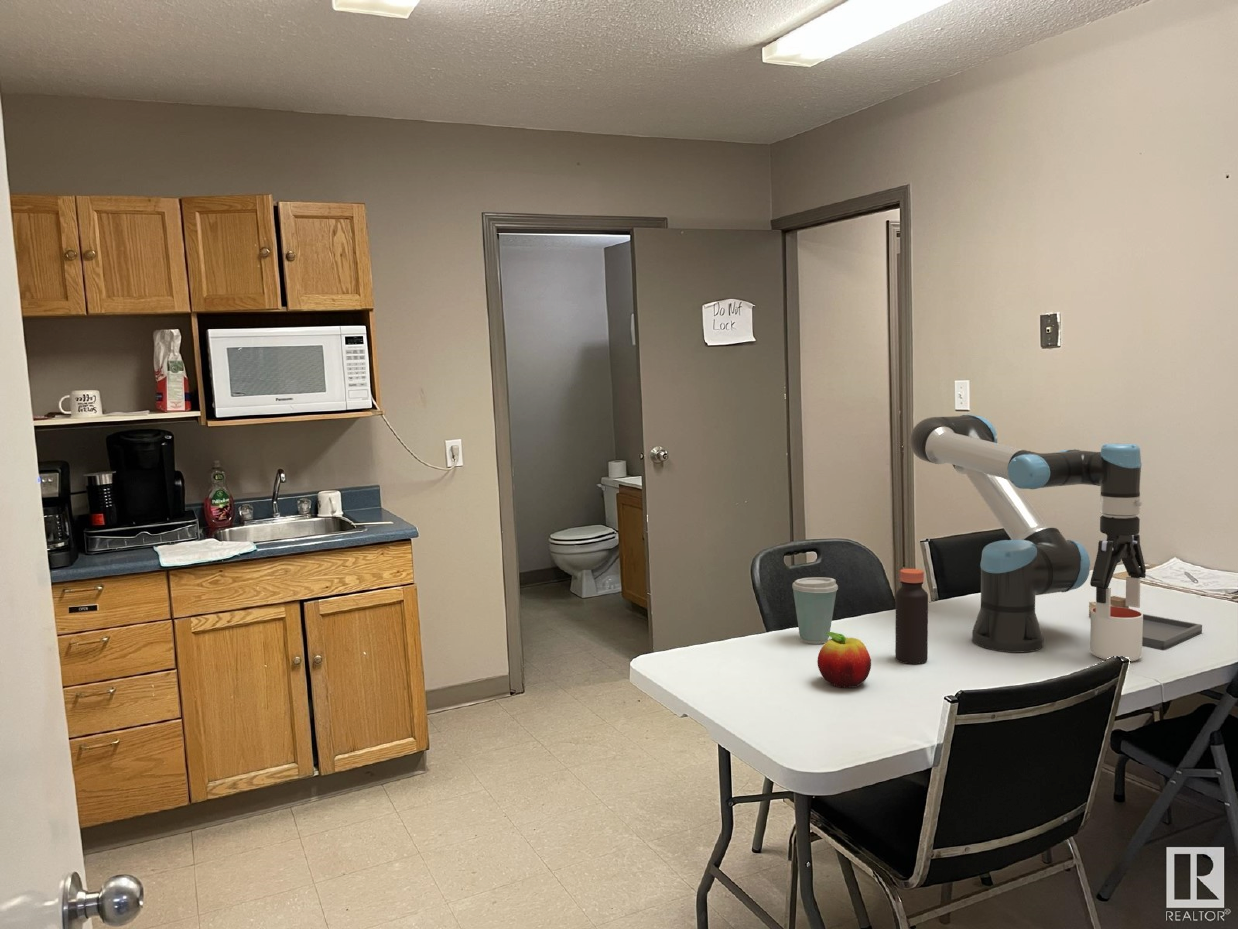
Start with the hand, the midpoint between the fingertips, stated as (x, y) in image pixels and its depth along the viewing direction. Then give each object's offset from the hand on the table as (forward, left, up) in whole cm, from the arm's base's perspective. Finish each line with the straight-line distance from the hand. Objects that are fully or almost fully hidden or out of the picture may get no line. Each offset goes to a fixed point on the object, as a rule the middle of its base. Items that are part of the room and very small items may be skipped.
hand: (1118, 612), depth 201 cm
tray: (+8, +21, -10) cm, 25 cm away
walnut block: (+3, +39, -10) cm, 41 cm away
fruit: (-52, -37, -10) cm, 65 cm away
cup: (0, 0, -10) cm, 10 cm away
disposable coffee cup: (-64, -9, -10) cm, 66 cm away
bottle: (-41, -17, -10) cm, 46 cm away
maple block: (-1, +32, -10) cm, 34 cm away
